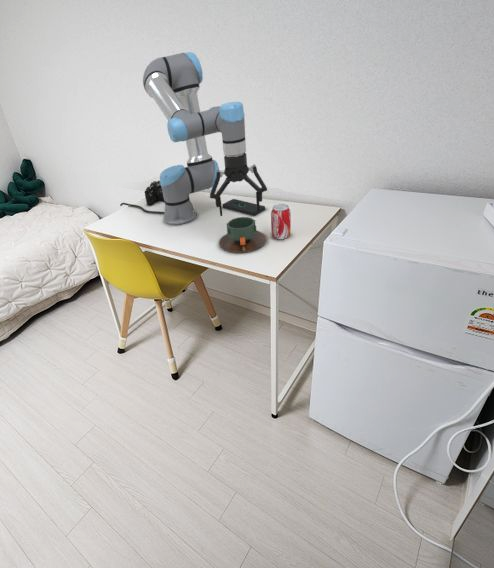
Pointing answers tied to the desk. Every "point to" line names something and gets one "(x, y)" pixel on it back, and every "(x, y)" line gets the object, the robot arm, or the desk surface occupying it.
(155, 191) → the film camera
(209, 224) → the desk surface
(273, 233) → the soda can
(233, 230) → the cup holder
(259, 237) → the holder base
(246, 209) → the smart home device
